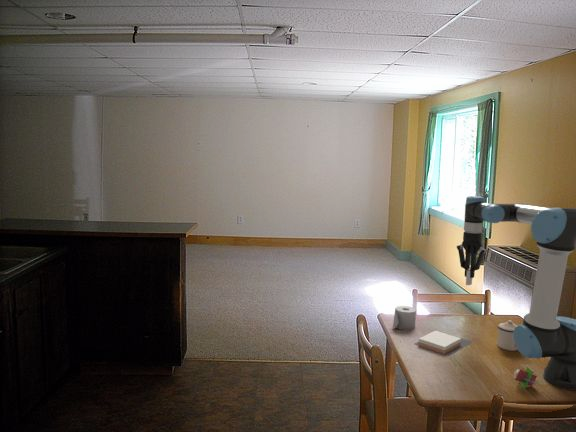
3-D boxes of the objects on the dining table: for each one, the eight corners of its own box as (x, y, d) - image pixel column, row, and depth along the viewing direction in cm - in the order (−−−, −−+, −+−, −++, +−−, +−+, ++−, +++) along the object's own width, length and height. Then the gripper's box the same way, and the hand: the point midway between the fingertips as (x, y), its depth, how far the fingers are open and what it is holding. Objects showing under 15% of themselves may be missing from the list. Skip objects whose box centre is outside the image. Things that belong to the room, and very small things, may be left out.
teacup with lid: (519, 352, 207) (521, 326, 205) (495, 348, 211) (497, 322, 209) (519, 343, 218) (521, 317, 216) (497, 339, 222) (499, 314, 220)
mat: (439, 332, 228) (439, 331, 228) (473, 342, 217) (473, 341, 217) (413, 344, 213) (413, 343, 213) (448, 356, 201) (448, 355, 201)
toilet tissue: (390, 330, 229) (391, 312, 228) (397, 322, 241) (398, 304, 239) (409, 334, 225) (410, 316, 224) (416, 325, 236) (417, 308, 235)
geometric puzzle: (535, 376, 181) (523, 359, 180) (545, 385, 174) (533, 367, 173) (518, 387, 181) (507, 370, 180) (528, 396, 174) (516, 379, 173)
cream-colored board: (435, 330, 221) (418, 338, 211) (461, 338, 212) (444, 346, 203) (435, 337, 221) (418, 345, 211) (460, 345, 213) (444, 353, 203)
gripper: (491, 232, 214) (486, 286, 217) (462, 228, 223) (458, 280, 227) (483, 234, 209) (479, 289, 212) (454, 230, 218) (450, 282, 221)
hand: (468, 284), depth 219 cm, fingers closed
